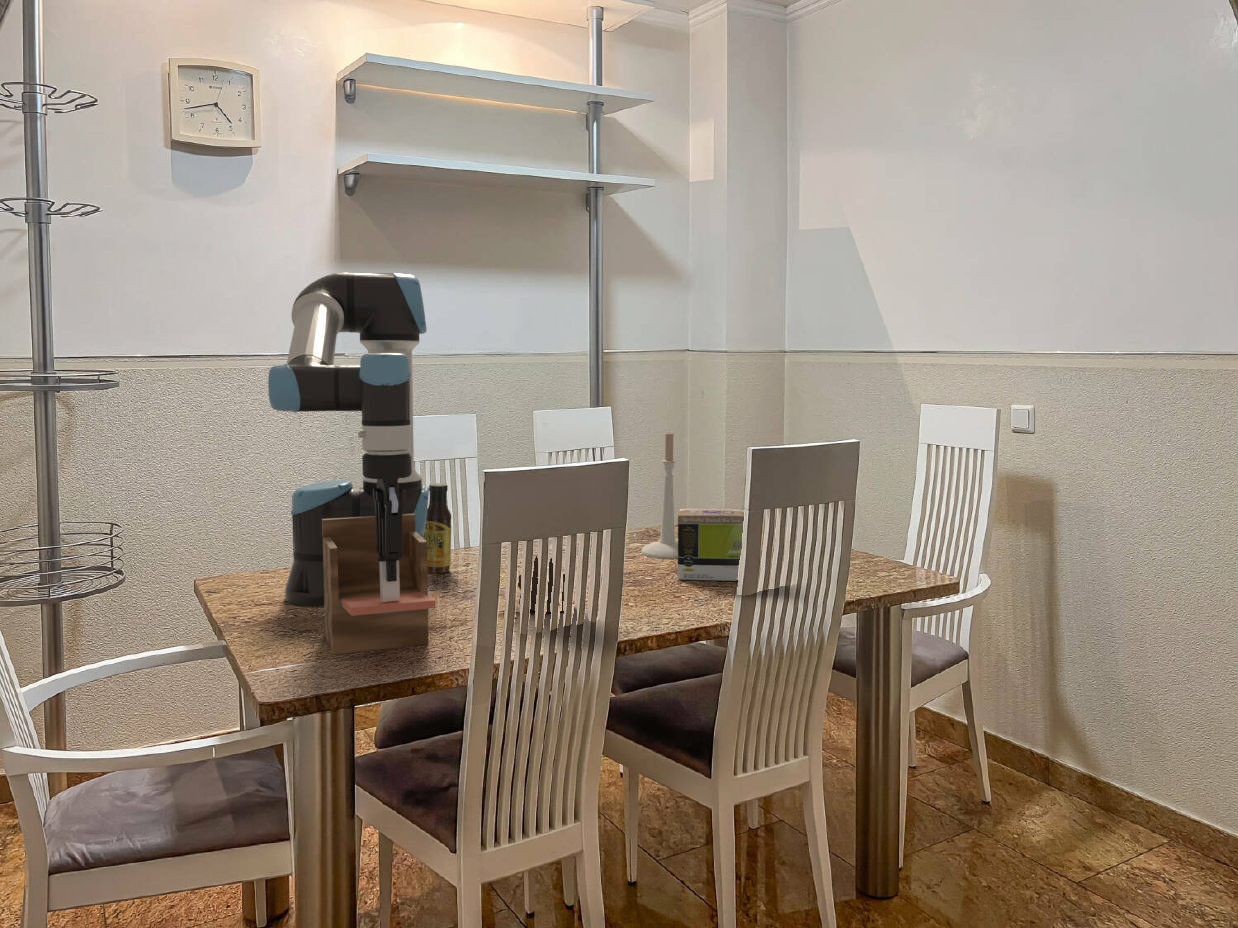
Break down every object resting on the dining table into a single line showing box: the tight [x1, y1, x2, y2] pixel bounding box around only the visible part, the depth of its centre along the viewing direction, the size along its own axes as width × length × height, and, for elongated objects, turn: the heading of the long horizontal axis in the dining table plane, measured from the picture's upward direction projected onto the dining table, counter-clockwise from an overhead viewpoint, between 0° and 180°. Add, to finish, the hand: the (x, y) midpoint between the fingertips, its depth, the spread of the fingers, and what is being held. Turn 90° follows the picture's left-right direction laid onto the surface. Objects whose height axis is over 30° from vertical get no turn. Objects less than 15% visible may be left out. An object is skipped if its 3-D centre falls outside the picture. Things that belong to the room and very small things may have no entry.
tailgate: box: [339, 592, 436, 616], centre depth 164 cm, size 2×14×13 cm
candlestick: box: [640, 432, 678, 560], centre depth 247 cm, size 13×13×30 cm
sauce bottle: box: [423, 482, 452, 575], centre depth 226 cm, size 7×6×20 cm
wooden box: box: [322, 514, 430, 655], centre depth 175 cm, size 11×16×21 cm
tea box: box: [677, 507, 744, 582], centre depth 225 cm, size 15×10×15 cm, turn 84°
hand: (390, 599), depth 161 cm, fingers closed
